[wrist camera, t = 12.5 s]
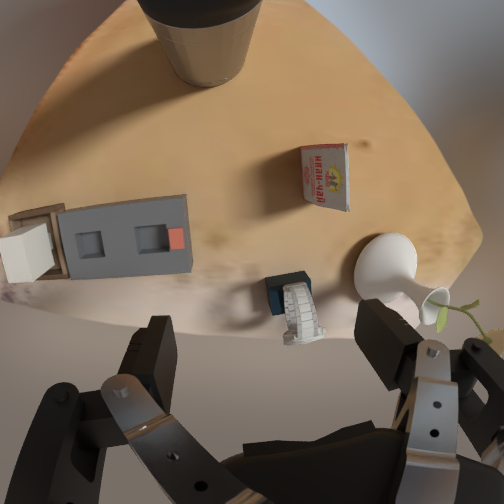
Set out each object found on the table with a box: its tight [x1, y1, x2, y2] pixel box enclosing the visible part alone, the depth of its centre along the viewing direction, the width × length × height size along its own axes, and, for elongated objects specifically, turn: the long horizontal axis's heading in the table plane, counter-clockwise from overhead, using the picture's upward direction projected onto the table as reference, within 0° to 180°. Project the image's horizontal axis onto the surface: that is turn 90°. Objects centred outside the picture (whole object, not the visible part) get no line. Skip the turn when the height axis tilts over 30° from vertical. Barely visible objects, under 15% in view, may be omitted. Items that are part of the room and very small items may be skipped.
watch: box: [265, 271, 326, 345], centre depth 35 cm, size 6×8×11 cm
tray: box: [8, 203, 70, 280], centre depth 32 cm, size 10×9×3 cm
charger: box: [0, 223, 55, 283], centre depth 29 cm, size 6×5×8 cm
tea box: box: [300, 143, 350, 212], centre depth 30 cm, size 4×7×10 cm, turn 5°
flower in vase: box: [354, 232, 504, 358], centre depth 29 cm, size 13×11×25 cm
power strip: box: [57, 194, 193, 280], centre depth 33 cm, size 9×17×4 cm, turn 93°
